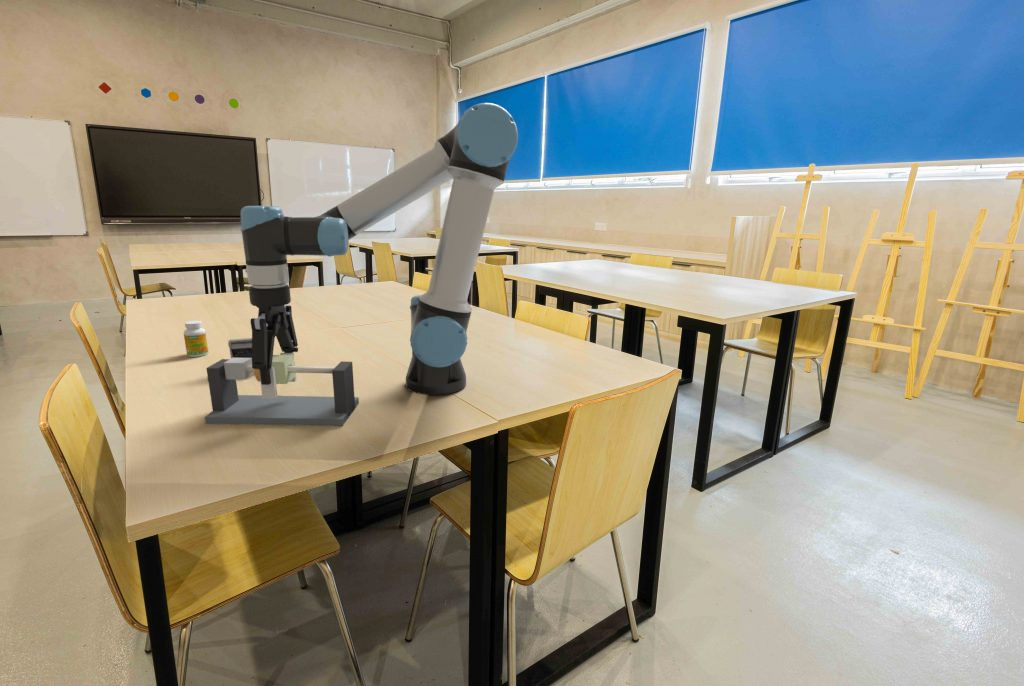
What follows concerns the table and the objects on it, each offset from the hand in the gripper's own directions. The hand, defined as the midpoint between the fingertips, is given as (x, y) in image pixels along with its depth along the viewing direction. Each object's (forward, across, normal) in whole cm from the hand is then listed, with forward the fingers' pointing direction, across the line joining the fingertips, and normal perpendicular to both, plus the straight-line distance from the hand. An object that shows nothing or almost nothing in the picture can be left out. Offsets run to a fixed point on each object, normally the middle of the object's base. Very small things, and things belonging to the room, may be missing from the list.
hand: (280, 389), depth 109 cm
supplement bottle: (+6, -40, -41) cm, 58 cm away
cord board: (+6, 0, +1) cm, 6 cm away
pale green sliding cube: (-2, 0, 0) cm, 2 cm away
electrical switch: (+6, -27, -19) cm, 34 cm away
